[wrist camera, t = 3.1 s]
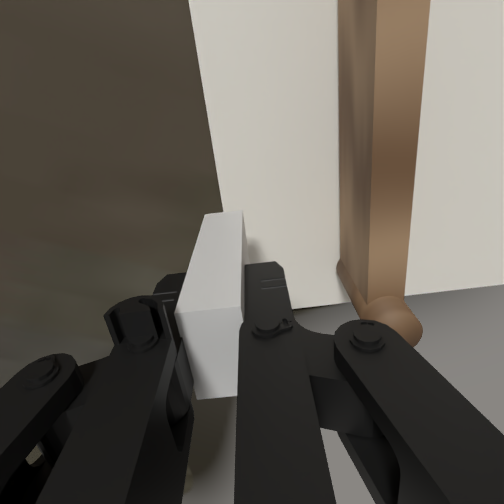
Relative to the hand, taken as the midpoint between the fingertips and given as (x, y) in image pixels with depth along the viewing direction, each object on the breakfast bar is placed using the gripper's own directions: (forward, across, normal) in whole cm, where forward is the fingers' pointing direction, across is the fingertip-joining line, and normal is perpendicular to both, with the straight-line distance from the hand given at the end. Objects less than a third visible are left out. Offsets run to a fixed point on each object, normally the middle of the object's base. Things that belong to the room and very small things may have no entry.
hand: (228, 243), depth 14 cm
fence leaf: (+2, +6, +3) cm, 7 cm away
